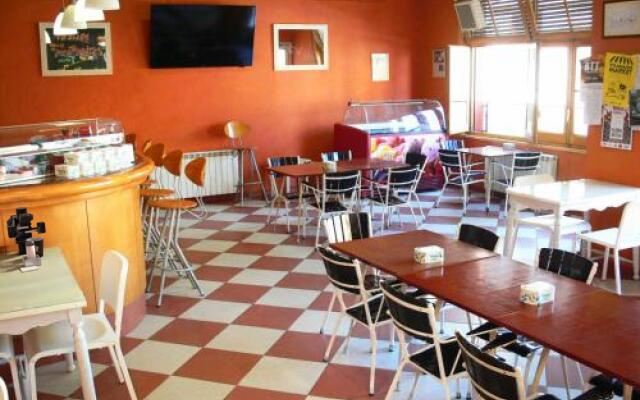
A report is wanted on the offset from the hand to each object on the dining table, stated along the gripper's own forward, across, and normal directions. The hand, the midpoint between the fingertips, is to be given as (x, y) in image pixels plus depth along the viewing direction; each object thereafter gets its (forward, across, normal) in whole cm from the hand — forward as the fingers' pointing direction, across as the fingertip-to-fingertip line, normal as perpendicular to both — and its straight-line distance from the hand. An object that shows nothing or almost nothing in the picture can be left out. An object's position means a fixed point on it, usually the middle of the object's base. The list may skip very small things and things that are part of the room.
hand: (29, 232), depth 348 cm
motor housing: (+3, -1, +16) cm, 17 cm away
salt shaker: (+3, -1, +17) cm, 17 cm away
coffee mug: (-13, +3, +17) cm, 21 cm away
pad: (+11, -4, +16) cm, 20 cm away
